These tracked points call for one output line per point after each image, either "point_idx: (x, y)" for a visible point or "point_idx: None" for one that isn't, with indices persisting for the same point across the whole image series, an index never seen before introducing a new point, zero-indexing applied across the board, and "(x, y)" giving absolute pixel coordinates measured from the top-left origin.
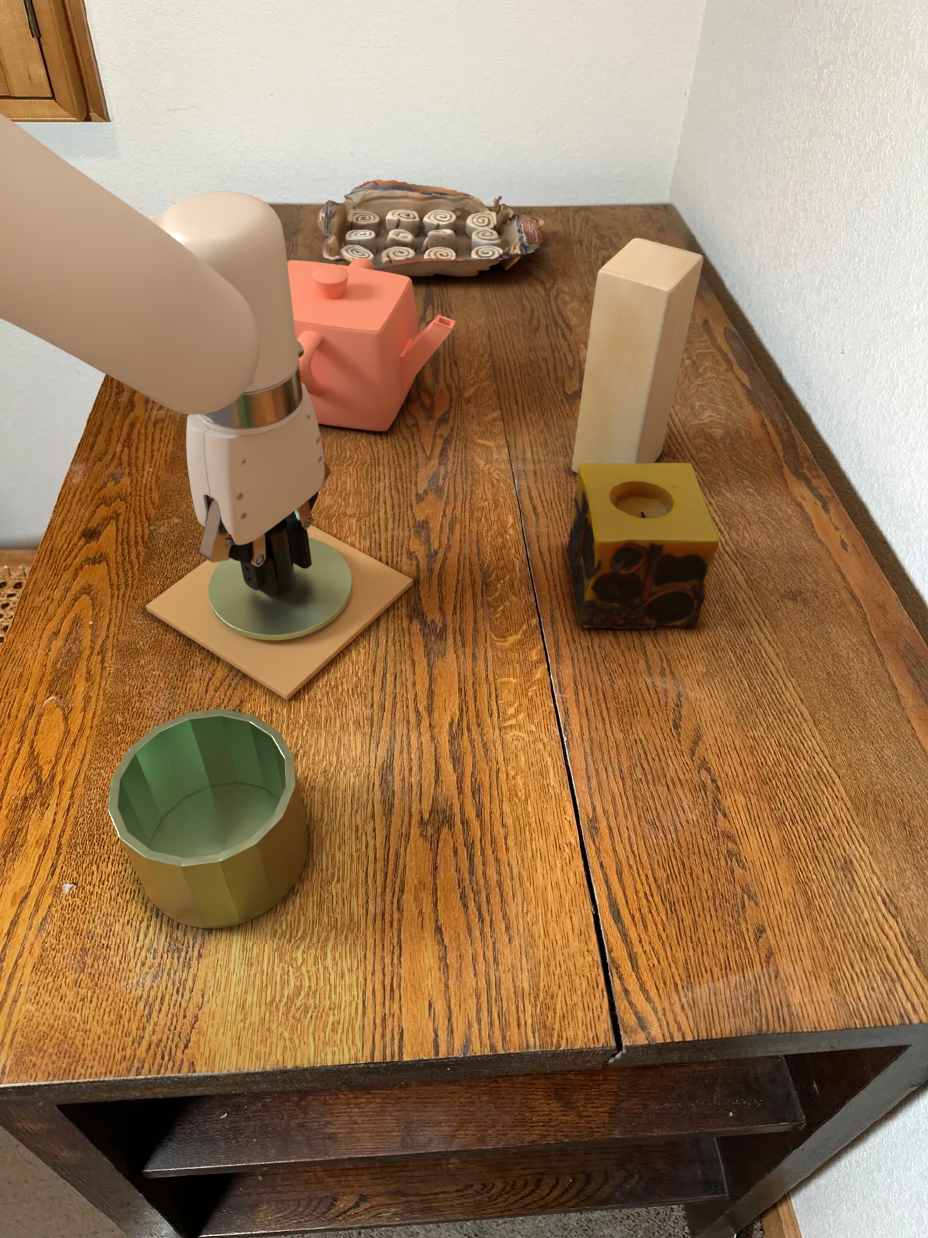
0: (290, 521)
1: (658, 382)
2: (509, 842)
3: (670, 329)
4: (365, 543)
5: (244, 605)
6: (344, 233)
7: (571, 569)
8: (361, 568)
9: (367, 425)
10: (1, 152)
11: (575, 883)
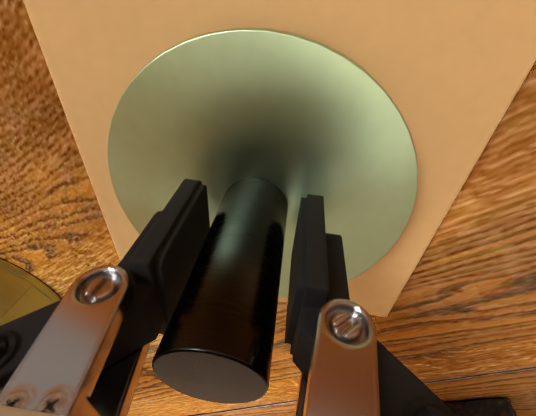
0: (299, 354)
1: None
2: (175, 396)
3: None
4: (464, 229)
5: (163, 183)
6: None
7: (464, 406)
8: (382, 262)
9: None
10: None
11: (181, 413)
